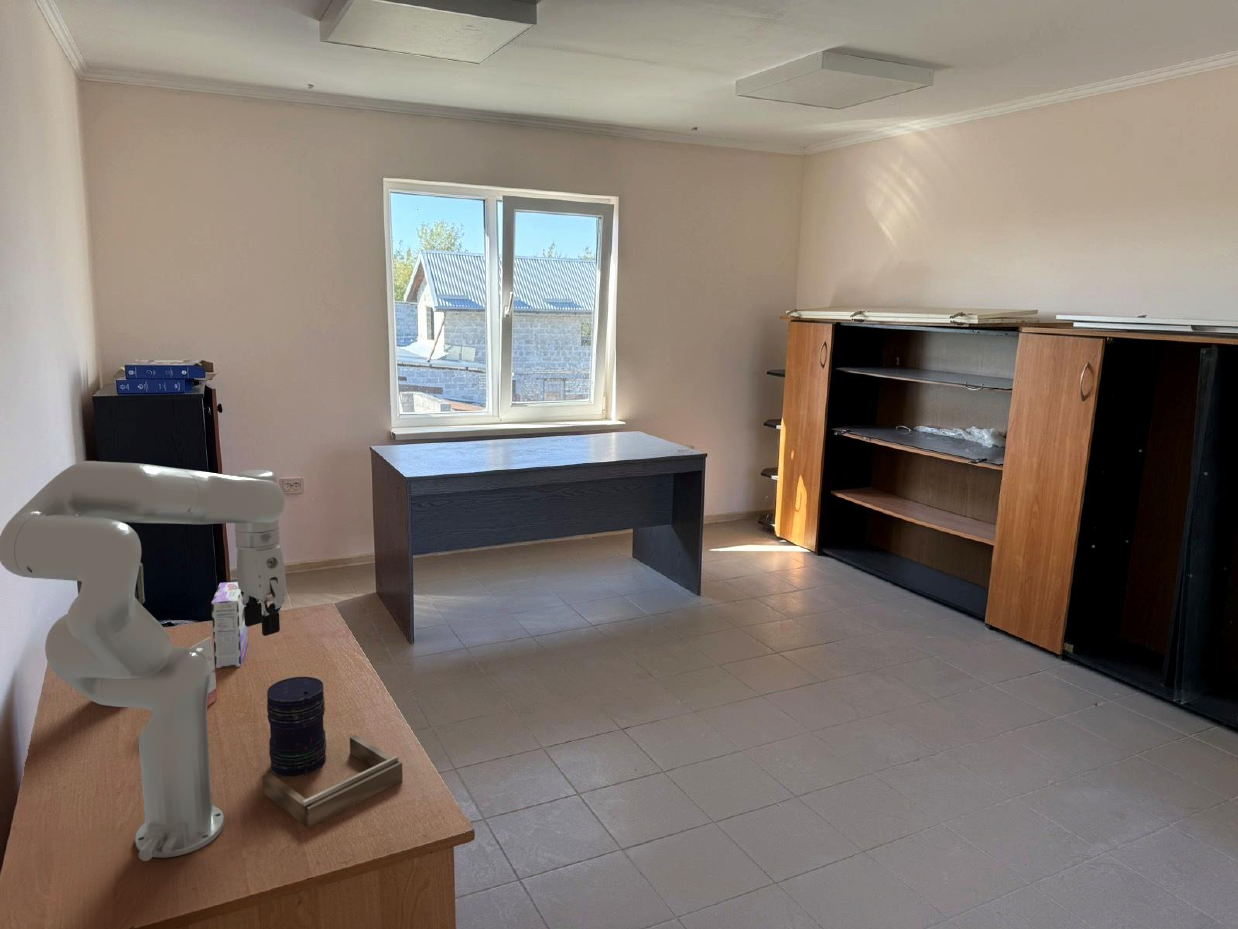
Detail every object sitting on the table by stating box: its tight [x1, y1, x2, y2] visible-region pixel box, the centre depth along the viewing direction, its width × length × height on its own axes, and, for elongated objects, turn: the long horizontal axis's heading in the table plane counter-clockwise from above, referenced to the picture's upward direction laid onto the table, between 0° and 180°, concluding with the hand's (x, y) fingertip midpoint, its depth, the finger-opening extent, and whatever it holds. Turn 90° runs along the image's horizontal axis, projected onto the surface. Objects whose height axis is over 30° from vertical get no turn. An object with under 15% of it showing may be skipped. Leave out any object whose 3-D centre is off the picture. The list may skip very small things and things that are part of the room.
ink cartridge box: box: [190, 636, 218, 708], centre depth 170 cm, size 9×5×15 cm, turn 168°
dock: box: [262, 734, 403, 829], centre depth 145 cm, size 15×18×4 cm
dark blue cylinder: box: [266, 676, 327, 778], centre depth 151 cm, size 10×10×15 cm
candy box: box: [210, 581, 249, 669], centre depth 195 cm, size 14×6×16 cm, turn 17°
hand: (262, 628), depth 155 cm, fingers open, 5 cm apart
